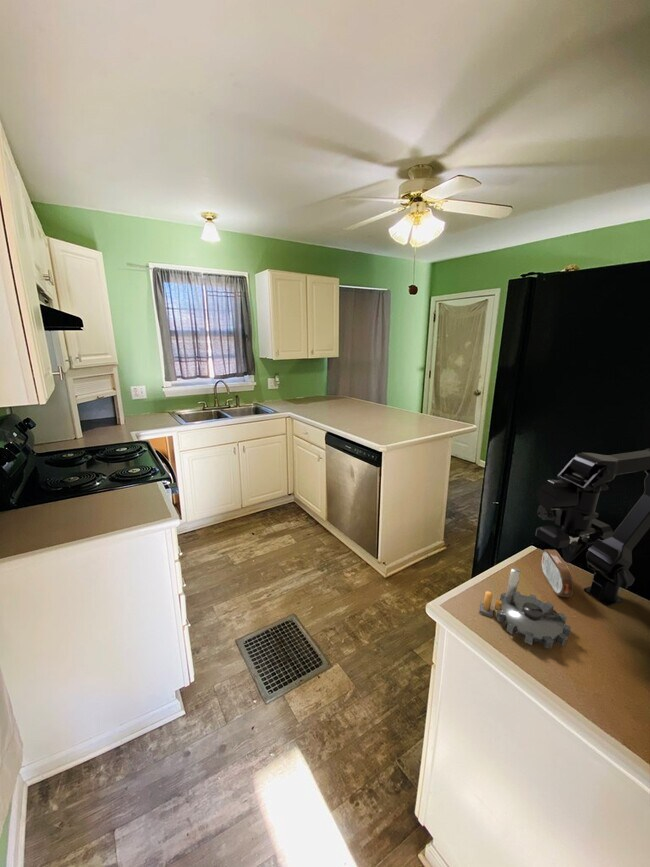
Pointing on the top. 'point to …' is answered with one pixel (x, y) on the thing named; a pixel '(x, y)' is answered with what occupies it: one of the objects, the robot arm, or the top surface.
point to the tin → (557, 573)
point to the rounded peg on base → (487, 605)
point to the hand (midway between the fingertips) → (567, 561)
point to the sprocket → (530, 616)
